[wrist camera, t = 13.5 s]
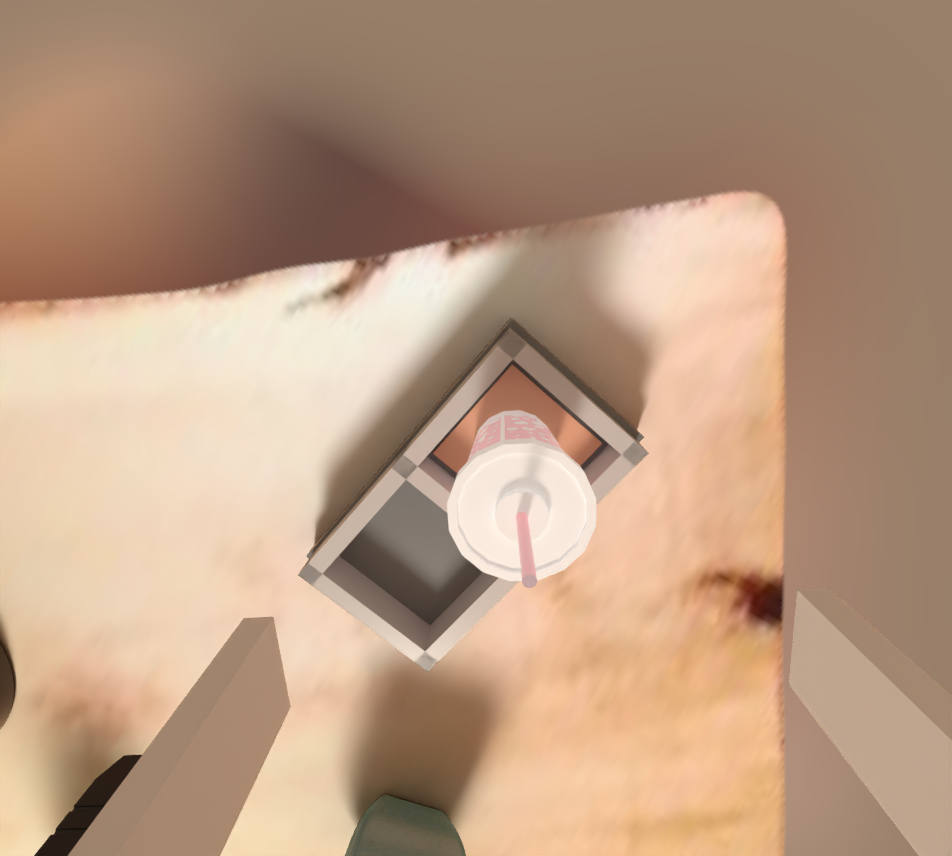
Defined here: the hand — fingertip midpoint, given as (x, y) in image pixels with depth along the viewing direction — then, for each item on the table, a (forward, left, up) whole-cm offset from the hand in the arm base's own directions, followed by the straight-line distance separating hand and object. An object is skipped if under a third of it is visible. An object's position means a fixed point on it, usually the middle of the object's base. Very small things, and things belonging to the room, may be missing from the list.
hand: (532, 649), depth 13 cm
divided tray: (0, -4, -19) cm, 20 cm away
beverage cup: (0, 0, -18) cm, 18 cm away
